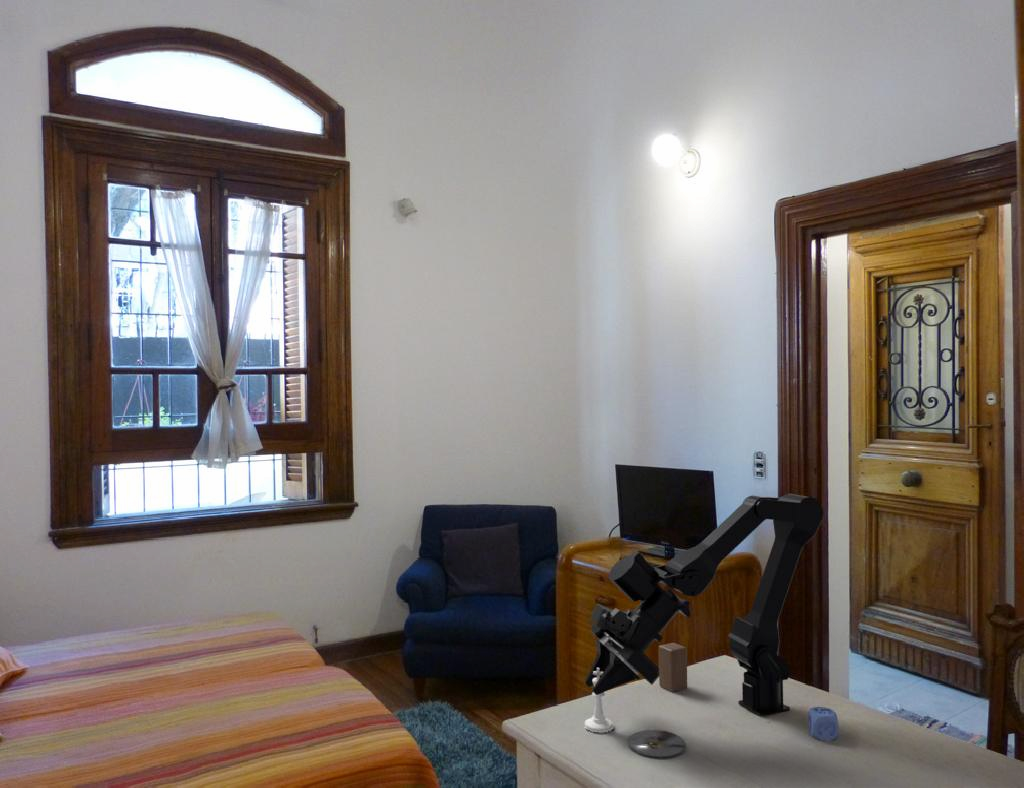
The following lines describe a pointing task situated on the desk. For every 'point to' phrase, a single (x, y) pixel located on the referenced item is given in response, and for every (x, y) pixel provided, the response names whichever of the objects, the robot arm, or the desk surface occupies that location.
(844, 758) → the desk surface
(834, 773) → the desk surface
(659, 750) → the carrier plate
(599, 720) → the chess piece
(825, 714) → the decorative dice
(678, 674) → the wooden block
